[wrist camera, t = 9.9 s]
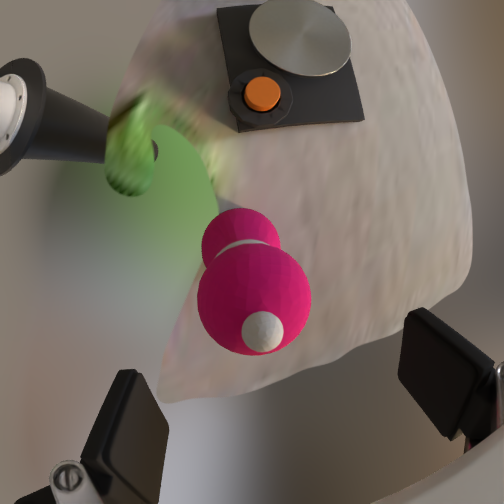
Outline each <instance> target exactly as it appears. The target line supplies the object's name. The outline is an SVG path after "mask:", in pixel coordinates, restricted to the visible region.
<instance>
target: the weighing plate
mask: <svg viewBox="0 0 504 504" xmlns="http://www.w3.org/2000/svg"><path fill="white" fill-rule="evenodd" d="M248 33H249V39H250V42H251V44H252V46H253V48H254V50H255V51H256V53H257V54H258V55H259V56H260V57H261V58H262V59H263V60H264V61H265V62H266V63H268V64H269V65H270V66H272V67H274V68H275V69H277V70H279V71H281V72H283V73H286V74H289V75H292V76H296V77H301V78H320V77H325V76H328V75H331V74H333V73H335V72H336V71H338V70H339V69H340V68H341V67H343V66H344V65H345V63H346V62H347V61H348V59H349V57H350V54H351V47H352V44H351V38H350V34H349V32H348V30H347V28H346V26H345V24H344V23H343V22H342V20H341V19H340V18H339V17H338V16H337V15H336V14H335V13H334V12H332V11H331V10H330V9H328V8H327V7H325V6H323V5H322V4H320V3H317V2H315V1H312V0H269V1H267V2H265V3H263V4H262V5H260V6H259V7H258V8H257V9H256V10H255V11H254V13H253V14H252V16H251V19H250V22H249V28H248Z"/></svg>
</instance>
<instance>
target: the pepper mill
mask: <svg viewBox="0 0 504 504" xmlns="http://www.w3.org/2000/svg"><path fill="white" fill-rule="evenodd" d="M202 258H203V261H204V264H205V266H206V268H207V269H206V270H205V272H204V274H203V276H202V278H201V280H200V283H199V288H198V294H197V302H198V312H199V315H200V319H201V321H202V323H203V326H204V328H205V329H206V331H207V332H208V334H209V335H210V336H211V337H212V338H213V339H214V340H215V341H216V342H217V343H218V344H219V345H221V346H222V347H224V348H226V349H228V350H230V351H232V352H235V353H239V354H243V355H264V354H269V353H272V352H275V351H278V350H280V349H282V348H283V347H285V346H287V345H288V344H289V343H290V342H292V341H293V340H294V339H295V338H296V337H297V336H298V335H299V333H300V332H301V330H302V329H303V327H304V326H305V324H306V321H307V319H308V316H309V312H310V307H311V291H310V286H309V283H308V280H307V277H306V275H305V273H304V272H303V270H302V268H301V267H300V265H299V264H298V263H297V262H296V260H294V259H293V258H292V257H291V256H290V255H289V254H287V253H285V252H284V251H282V250H281V248H280V240H279V236H278V234H277V231H276V229H275V227H274V226H273V224H272V223H271V222H270V220H268V219H267V218H266V217H265V216H264V215H262V214H261V213H259V212H257V211H254V210H251V209H246V208H237V209H231V210H227V211H225V212H223V213H221V214H219V215H218V216H217V217H215V218H214V219H213V220H212V221H211V222H210V224H209V225H208V227H207V228H206V230H205V233H204V235H203V238H202Z"/></svg>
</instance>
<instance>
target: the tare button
mask: <svg viewBox="0 0 504 504" xmlns="http://www.w3.org/2000/svg"><path fill="white" fill-rule="evenodd" d="M244 98H245V101H246V103H247V105H248V106H249V107H250V108H252V109H253V110H256V111H267V110H270V109H271V108H272V107H274V105H275V104H276V103H277V101H278V100H279V98H280V88H279V86H278V84H277V83H276V82H275V81H274V80H272V79H270V78H268V77H257V78H254V79H252V80H251V81H250V82H249V83H248V84H247V86H246V90H245V94H244Z"/></svg>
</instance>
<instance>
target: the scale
mask: <svg viewBox="0 0 504 504" xmlns="http://www.w3.org/2000/svg"><path fill="white" fill-rule="evenodd" d="M260 5H262V4H260ZM260 5H244V6H233V7H224V8H217V18H218V23H219V28H220V33H221V39H222V44H223V49H224V54H225V60H226V65H227V71H228V76H229V81H230V90H229V92H228V100H229V106H230V111H231V112H232V113H233V115H234V116H235V117H236V120H237V125H238V131H239V133H241V132H248V131H255V130H262V129H270V128H278V127H287V126H297V125H308V124H321V123H339V122H360V121H363V120H365V118H364V113H363V108H362V104H361V99H360V95H359V91H358V86H357V82H356V78H355V75H354V71H353V67H352V64H351V60H350V57H349V59H348V61H347V62H346V63H345V65H344V66H343V67H341V68H340V69H339V70H338V71H336V72H335V73H333V74H331V75H328V76H325V77H320V78H301V77H296V76H292V75H289V74H286V73H283V72H281V71H279V70H277V69H275V68H274V67H272V66H270V65H269V64H268V63H266V62H265V61H264V60H263V59H262V58H261V57H260V56H259V55H258V54H257V53H256V51H255V50H254V48H253V46H252V44H251V42H250V39H249V33H248V28H249V22H250V19H251V16H252V14H253V13H254V11H255V10H256V9H257V8H258V7H259V6H260ZM325 7H327V8H328V9H330V10H331V11H332V12H334V13H335V11H334V9H333V7H332V6H325ZM257 77H268V78H270V79H272V80H274V81H275V82H276V83H277V84H278V86H279V88H280V98H279V100H278V101H277V103H276V104H275V105H274V107H272V108H271V109H270V110H267V111H256V110H253V109H252V108H250V107H249V106H248V105H247V103H246V101H245V98H244V94H245V90H246V86H247V84H248V83H249V82H250V81H251V80H252V79H254V78H257Z"/></svg>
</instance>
